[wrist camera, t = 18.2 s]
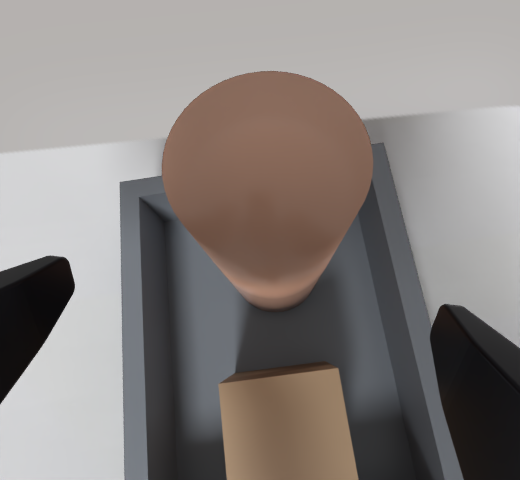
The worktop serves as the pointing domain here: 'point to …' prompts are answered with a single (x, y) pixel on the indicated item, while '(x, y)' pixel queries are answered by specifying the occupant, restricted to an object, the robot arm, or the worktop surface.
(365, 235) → the tote
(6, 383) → the robot arm
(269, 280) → the terracotta cylinder
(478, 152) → the worktop surface
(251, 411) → the walnut cube
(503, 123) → the worktop surface
